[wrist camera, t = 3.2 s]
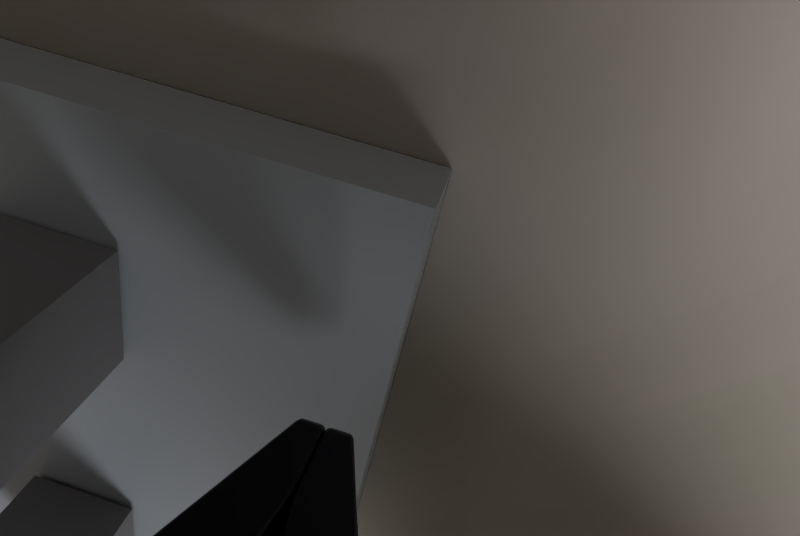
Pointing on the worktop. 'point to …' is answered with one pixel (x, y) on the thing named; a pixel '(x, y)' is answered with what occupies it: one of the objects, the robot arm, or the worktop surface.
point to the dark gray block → (51, 332)
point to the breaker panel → (213, 274)
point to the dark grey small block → (63, 513)
